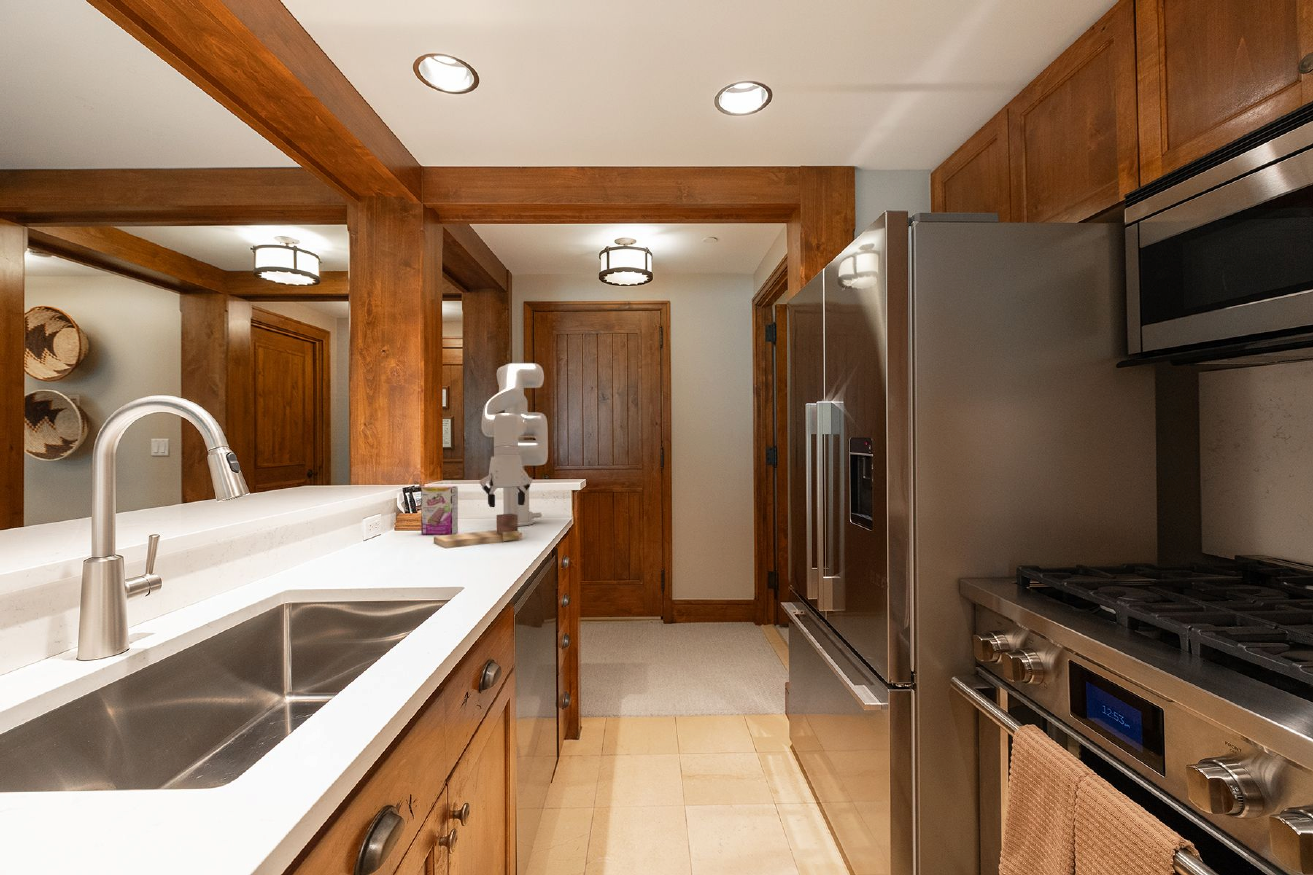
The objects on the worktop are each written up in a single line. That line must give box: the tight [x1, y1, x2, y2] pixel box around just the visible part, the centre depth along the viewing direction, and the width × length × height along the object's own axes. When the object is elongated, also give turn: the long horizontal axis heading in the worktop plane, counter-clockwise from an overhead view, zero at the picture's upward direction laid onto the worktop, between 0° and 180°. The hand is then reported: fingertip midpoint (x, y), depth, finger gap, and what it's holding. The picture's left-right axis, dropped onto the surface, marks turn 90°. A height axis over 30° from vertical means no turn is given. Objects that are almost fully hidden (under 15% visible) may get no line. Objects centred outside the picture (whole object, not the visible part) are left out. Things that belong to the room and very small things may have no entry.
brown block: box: [496, 513, 520, 542], centre depth 194 cm, size 5×6×8 cm
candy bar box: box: [420, 485, 459, 536], centre depth 208 cm, size 11×5×16 cm, turn 84°
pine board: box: [433, 529, 523, 549], centre depth 193 cm, size 24×12×2 cm, turn 126°
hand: (506, 505), depth 193 cm, fingers open, 9 cm apart
